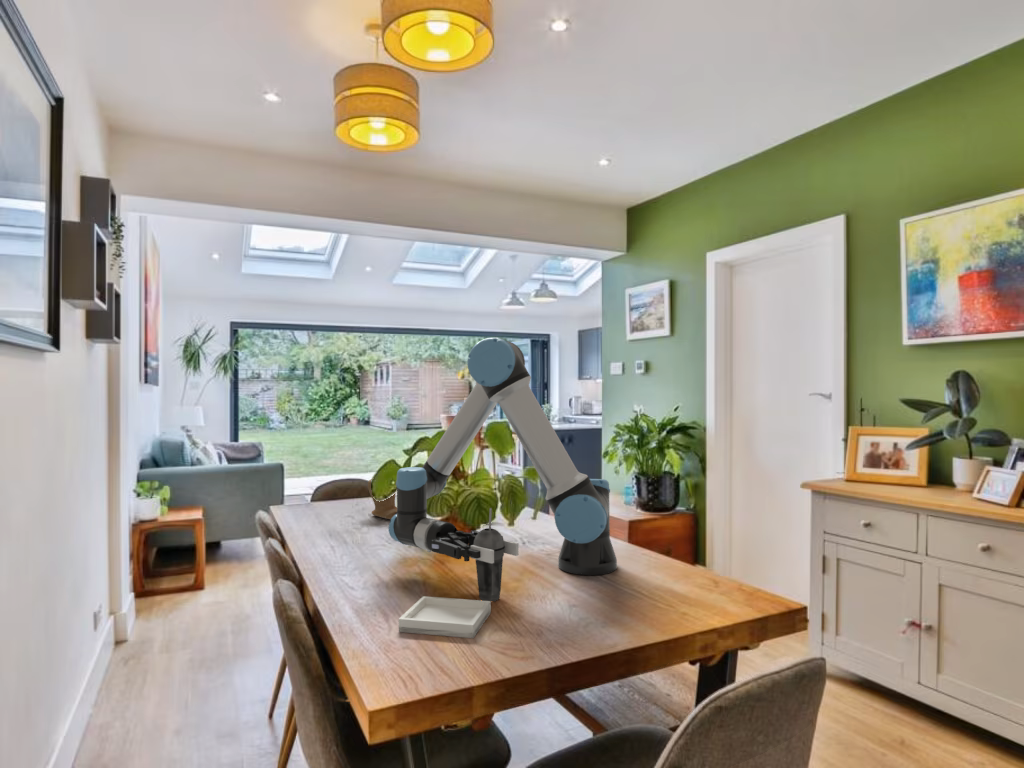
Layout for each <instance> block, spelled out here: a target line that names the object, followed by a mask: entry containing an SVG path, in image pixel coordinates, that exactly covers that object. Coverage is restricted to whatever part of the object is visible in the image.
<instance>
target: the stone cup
mask: <svg viewBox="0 0 1024 768" xmlns="http://www.w3.org/2000/svg"><path fill="white" fill-rule="evenodd" d="M372 479H373V478H371V479H369V480H368V481H367V489H368V492H369V495H370V497H371V499H372V501H373V504H374V509H373V510H372V511H371V514H372V516H376V517H379V518H383V519H385V520H386V519H387V520H391V519H392V517H393V516H394V515H396V514H397V505H396V495H397V492H396V493H395V494H394V495H393V496H391V497H390V498H388V499H386V500H384V501H380V502H379V501H376V500H375V499H374V498H373V495H372V490H371V480H372Z"/></svg>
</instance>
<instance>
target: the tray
mask: <svg viewBox="0 0 1024 768" xmlns="http://www.w3.org/2000/svg"><path fill="white" fill-rule="evenodd" d="M491 603H492V602H491V601H481V600H480V599H477V600H476V599H466V598H465V599H464V598H453V597H452V598H450V597H441V596H440V597H439V596H438V597H437V596H423V595H422V596H421V598H419V599H418V600H417V601H416V602H415V603H414V604H413V605H412V606H411V607H410V608H408V610H406V612H404V613H403V614H402V615H401V616H400V617H399V618H398V632H399V633H405V634H406V633H408V634H419V635H420V634H421V635H428V636H429V635H433V636H443V637H454V638H455V637H456V638H466V639H468V638H469V639H474V638H475V637H476V635H477V634H478V632H479V631H480V630H481V628H482V626H483V625H484V624H485V623H486V621H485V620H487V619H488V618H489V616H490V615H491V613H492V612H491V611H492V610H491V609H492V606H491V605H492V604H491ZM483 623H484V624H483Z"/></svg>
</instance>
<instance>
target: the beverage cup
mask: <svg viewBox="0 0 1024 768" xmlns="http://www.w3.org/2000/svg"><path fill="white" fill-rule="evenodd" d="M492 510H493V509H492V507H489V515H488V528H487V527H486V528H483V529H481V530H480V531H478V532H479V533H478V534H477V535H476V537H475V539H474V545H475V546H479V547H483V548H487V549H491V550H494V563H492V564H491V563H487V562H484V561H480V560H476V559H475V567H476V577H477V589H478V595H479V600H480V599H481V600H482V601H494V602H497V601H499V600H500V599H501V597H500V596H501V590H502V589H501V588H502V576H503V575H502V573H503V562H504V559H503V558H504V555H505V553H504V548H505V545H504V540H505V539H504V536H503V535H502V534H501V532H499V530H497V529H494V528H492V515H493V514H492ZM502 536H503V537H502ZM499 598H500V599H499ZM498 599H499V600H498ZM496 600H497V601H496Z"/></svg>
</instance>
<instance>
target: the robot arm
mask: <svg viewBox="0 0 1024 768" xmlns="http://www.w3.org/2000/svg"><path fill="white" fill-rule="evenodd" d="M467 370H468V372H469V375H470V376H471V378H472V379H473V380H474V382H475V385H474V387H473V388H472V389H471V392H469V394H468V395H467V398H466V399H465V401H464V402H463V403H462V405H461V407H460V408H459V410H458V412H457V413H456V414H455V416H454V418H453V419H452V421H451V422H450V423H449V426H448V427H447V428H446V430H445V432H444V433H443V435H442V436H441V437H440V439H439V441H437V444H436V445H435V447H434V449H433V450H432V451H431V453H430V455H429V456H428V458H427V459H426V461H425V462H424V464H423V465H422V467H420V466H409V467H401V468H399V469H398V470H397V473H396V480H395V485H396V507H397V514H396V515H394V516H393V517H392V519H390V521H389V524H388V529H387V530H388V534H389V536H390V537H391V538H392V539H393V541H395V542H398V543H400V544H402V545H406V546H412V547H415V548H419V549H423V550H426V551H427V552H428V553H431V552H433V553H436V554H440V555H445V556H447V557H450V558H453V559H456V560H461V559H462V558H463V561H464V562H470V558H471V559H472V560H473V559H474V560H475V561H476V560H480V561H484V562H487V563H491V564H492V563H494V550H491V549H487V548H483V547H479V546H475V545H474V539H475V537H476V535H477V534H478V533H479V532H480V531H478V530H475V529H473V530H471V531H470V532H465V531H463V530H458V529H457V527H456V526H455V525H454V524H453V523H451V522H448V521H443V520H439V519H435V518H431V517H428V515H427V512H428V510H427V509H428V507H427V505H428V504H427V502H428V499H429V498H432V497H434V496H437V495H439V494H441V492H443V490H444V489H445V487H446V485H447V482H448V481H447V480H448V479H449V477H450V475H451V473H452V472H453V470H454V469H455V467H457V465H458V463H459V462H460V460H461V458H463V456H464V455H465V453H466V451H467V449H468V448H469V447H470V445H471V443H472V442H473V440H474V439H475V437H476V436H477V434H478V433H479V431H480V430H481V428H482V427H483V425H484V424H485V423H486V421H487V420H488V418H489V417H490V415H491V413H492V412H493V410H494V409H495V407H496V406H497V404H498V405H499V406H500V408H501V410H502V412H503V413H504V416H505V417H506V419H507V421H508V422H509V424H510V426H511V428H512V429H513V431H514V433H515V435H516V438H517V439H518V440H519V442H520V445H521V446H522V447H523V449H524V451H525V453H526V454H527V456H528V458H529V460H530V461H531V463H532V465H533V467H534V469H535V470H536V472H537V474H538V475H539V477H540V479H541V481H542V483H543V484H544V486H545V488H546V494H545V495H546V496H545V497H544V498H545V501H546V503H547V504H548V506H549V508H550V509H551V512H552V513H553V515H554V521H555V522H554V523H555V527H556V529H557V531H558V533H559V534H560V535H561V536H562V537H563V538H564V539H563V542H562V544H561V548H560V551H559V554H558V561H557V562H558V568H559V569H560V570H562V571H564V572H566V573H569V574H570V573H571V574H574V575H580V576H581V575H583V576H599V575H606V574H611V573H612V572H614V571H616V570H617V568H618V564H617V563H618V562H617V561H618V559H617V556H616V553H615V550H614V547H613V544H612V540H611V537H610V536H611V535H610V534H611V533H610V529H611V527H610V524H611V523H610V521H611V519H610V493H611V489H610V483H609V481H608V480H607V479H602V478H589V476H588V474H585V473H581V472H580V471H578V469H577V467H576V466H575V463H574V462H573V461H572V459H571V457H570V455H569V454H568V451H567V450H566V448H565V446H564V445H563V443H562V442H561V441H562V440H561V439H560V438H559V436H558V435H557V432H556V431H555V429H554V427H553V425H552V424H551V422H550V420H549V419H548V416H546V413H545V412H544V410H543V408H542V406H541V405H540V403H539V401H538V400H537V398H536V395H535V394H534V392H533V391H532V388H531V387H530V384H531V383H530V382H531V378H532V377H531V375H530V373H529V372H528V370H527V368H526V359H525V355H524V354H523V351H522V350H521V348H520V347H519V346H518V345H516V344H515V343H513V342H511V341H509V340H505V339H504V338H501V337H497V336H496V337H495V336H492V337H487V338H484V339H481V340H480V341H478V342H477V343H475V344H474V346H472V348H471V349H470V352H469V353H468V357H467ZM502 537H503V538H504V536H503V535H502ZM503 540H504V545H505V548H504V554H507V555H511V556H516V557H517V556H519V553H520V552H519V542H515V541H511V540H506V539H503Z"/></svg>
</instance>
